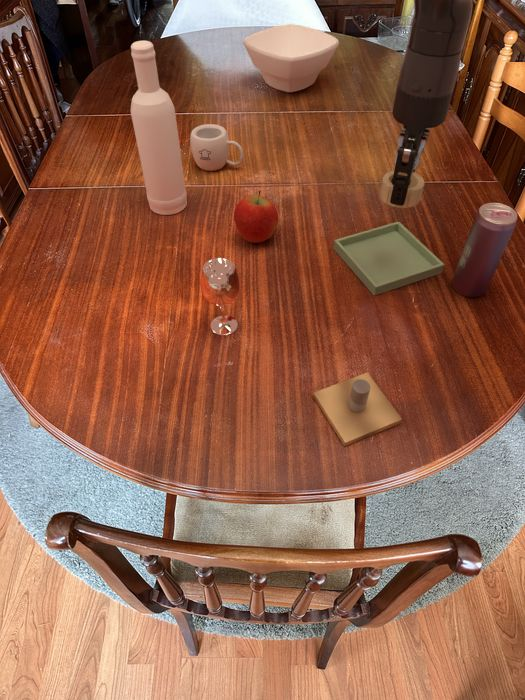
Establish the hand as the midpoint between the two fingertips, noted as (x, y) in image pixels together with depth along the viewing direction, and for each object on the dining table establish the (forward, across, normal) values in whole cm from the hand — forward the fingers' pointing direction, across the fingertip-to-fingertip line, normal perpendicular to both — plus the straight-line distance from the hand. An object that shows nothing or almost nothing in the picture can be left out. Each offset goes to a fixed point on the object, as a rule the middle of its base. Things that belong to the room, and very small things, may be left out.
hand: (401, 191), depth 82 cm
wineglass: (+15, -25, +21) cm, 36 cm away
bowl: (+15, +68, +41) cm, 81 cm away
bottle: (+15, +3, +46) cm, 48 cm away
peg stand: (+14, -34, -3) cm, 37 cm away
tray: (+14, 0, 0) cm, 14 cm away
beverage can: (+15, -2, -15) cm, 21 cm away
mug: (+15, +20, +42) cm, 49 cm away
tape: (+1, 0, 0) cm, 1 cm away
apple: (+15, -2, +25) cm, 29 cm away
